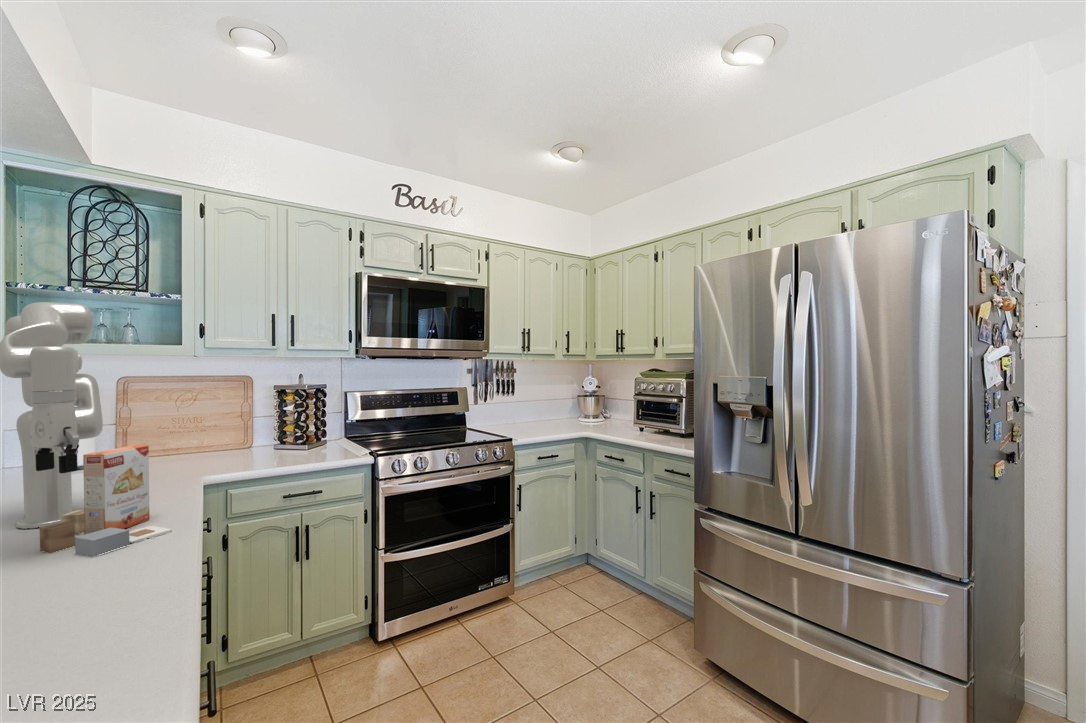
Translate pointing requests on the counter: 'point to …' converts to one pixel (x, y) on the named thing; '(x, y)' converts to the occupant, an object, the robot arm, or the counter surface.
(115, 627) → the counter surface
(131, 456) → the cracker box
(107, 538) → the base block
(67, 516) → the maple block
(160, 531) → the tile
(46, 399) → the robot arm
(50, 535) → the walnut block
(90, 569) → the counter surface
